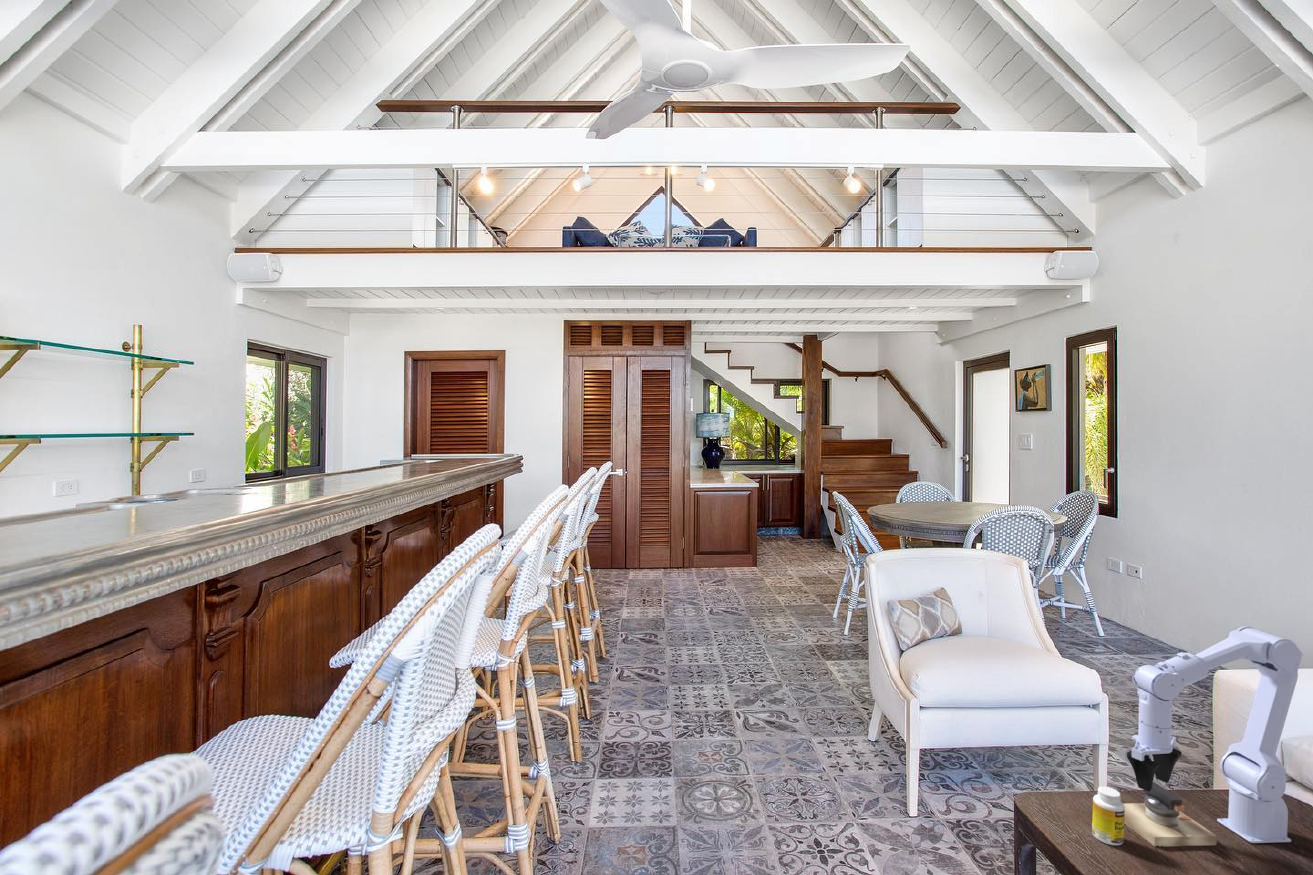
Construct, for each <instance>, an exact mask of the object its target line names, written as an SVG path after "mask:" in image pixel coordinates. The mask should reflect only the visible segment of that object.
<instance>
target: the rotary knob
mask: <svg viewBox="0 0 1313 875" xmlns="http://www.w3.org/2000/svg"><path fill="white" fill-rule="evenodd" d="M1143 792H1144V793H1145V794H1144V803H1145V806H1146V807H1147V808H1148V809H1150V810H1151V811H1153V812H1155V813H1157V814H1160V815H1163V816H1167V817H1177V816H1179V812H1182V813H1184V812H1185V811H1186V810H1185V808H1186V807H1185V806H1184V805H1183V799H1181V798H1180V797H1178V796H1177V795H1175V794H1173V793H1172V792H1170V790H1167V789H1166V788H1164V787H1163V786H1161V785H1159V784H1158V783H1157V782H1155V781H1153V784H1152V788H1151V791H1149V792H1148V791H1146V790H1143Z"/></svg>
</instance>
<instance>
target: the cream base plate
mask: <svg viewBox="0 0 1313 875" xmlns="http://www.w3.org/2000/svg"><path fill="white" fill-rule="evenodd" d="M1123 804H1124V806H1125V816H1124V825H1125V824H1126V826H1127V827H1128V828H1129V829H1131V830H1132V831H1133V830H1134V831H1133V832H1134V833H1136V834H1137V835H1138V836H1140V837H1141V838H1143V839H1144V840H1145V841H1146V840H1147V841H1146V842H1148V843H1149V844H1150V845H1152V846H1153V847H1155V848H1157V847H1156V846H1159V847H1161V846H1163V847H1190V846H1191V847H1195V846H1198V847H1199V846H1217V842H1218V841H1217V840H1218V838H1217V837H1218V836H1217V835H1216V833H1213V832H1212V831H1210V830H1209V829H1208V828H1206V827H1204V826H1203V825H1202V824H1200V823H1199V822H1197V821H1195V820H1194V819H1192V818H1191V817H1189V816H1188V815H1186V814H1185V813H1184V812H1179V816H1177V817H1167V816H1163V815H1160V814H1157V813H1155V812H1153V811H1151V810H1150V809H1148V808H1147V807H1146V806H1145V802H1143V803H1142V802H1139V803H1132V802H1131V803H1123Z"/></svg>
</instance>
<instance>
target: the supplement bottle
mask: <svg viewBox="0 0 1313 875" xmlns="http://www.w3.org/2000/svg"><path fill="white" fill-rule="evenodd" d="M1124 804H1125V803H1123V802H1122V799H1121V792H1119V791H1118V790H1116V789H1114V788H1112V787H1108V786H1098V788H1097V794H1095V795H1094V796H1093V798H1092V821H1091V822H1092V823H1091V832H1092V835H1093V836H1094V838H1096V839H1097V840H1098V841H1100V842H1102V843H1104V844H1107V845H1109V846H1121V845H1123V844H1124V834H1125V824H1124V816H1125V806H1124Z"/></svg>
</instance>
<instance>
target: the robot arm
mask: <svg viewBox="0 0 1313 875" xmlns="http://www.w3.org/2000/svg"><path fill="white" fill-rule="evenodd" d="M1302 657H1303V652H1302V651H1301V650H1300V648H1299V646H1297V644H1296V643H1295V642H1294V640H1293V641H1292V640H1291V639H1288V638H1286V637H1284V638H1283V637H1280V636H1277V635H1274V634H1271V633H1268V632H1266V631H1265V632H1264V631H1262V630H1258V629H1256V628H1254V627H1252V626H1247V625H1245V626H1241V627H1238V628H1237V629H1234V630H1230V632H1229V634H1228V636H1227V638H1225V639H1223V640H1221V641H1219V642H1217V643H1216V644H1214V645H1211V646H1209V647H1208V648H1206V649H1204V650H1202V651H1200V652H1198V653H1196V654H1193V653H1191V652H1182V651H1181V652H1178V653H1176V656H1174V657H1171V658H1169V659H1166V660H1165V661H1164V660H1163V661H1159V662H1157V663H1156V664H1155V665H1151V664H1144V665H1141V666H1139V667H1138V668H1137V669H1136V670H1135V672H1134V675H1132V677H1131V678H1132V682H1133V684H1134V685H1135V687H1136V689H1137V692H1136V694H1137V695H1138V729H1137V730H1138V732H1137V734H1133V735H1132V737H1131V739H1132V740H1133V741H1135V744H1134V747H1132V748H1131V750H1129V751H1127V752H1126V758H1127V760H1128V762H1129V763H1130V765H1131V768H1132V770H1133V772H1134V776H1135V779H1136V784H1137V787H1138V788H1139V789H1142V790H1143V791H1144V790H1146V791H1148V792H1149V791H1151V788H1152V784H1153V782H1154V777H1155V778H1156V779H1157V780H1159V781H1161V782H1164V783H1165V784H1166V783H1169V782H1170V779H1171V776H1172V773H1173V769H1174V767H1175V765H1176V763H1177V762H1178V760H1179V759H1180V758H1181V756H1182V751H1181V750H1179V749H1177V748H1176V747H1177V737H1175V736H1172V729H1173V728H1172V723H1173V722H1172V720H1173V700H1175V699H1176V698H1177V697H1178V696H1179V694H1180V692H1182V690H1184V688H1185V687H1187V686H1189V685H1192V684H1194V683H1196V682H1199V681H1201V680H1204V679H1206V678H1207V677H1208V671H1209V670H1212V669H1215V668H1218V667H1221V666H1224V665H1226V664H1229V663H1233V662H1235V661H1238V660H1242V659H1244V660H1249V661H1250V662H1251V663H1252V664H1253V665H1254V667H1255V668H1256V669H1257V670H1258V672H1259V674H1260V679H1259V682H1258V685H1257V689H1256V692H1255V697H1254V700H1253V702H1252V706H1251V709H1250V713H1249V718H1248V720H1247V724H1246V728H1245V731H1244V734H1243V737H1242V741H1239V742H1234V743H1231V744H1230V745H1229V747H1228V749H1227V751H1226V753H1225V754H1224V755H1223V756H1222V758H1221V759H1220V764H1219V768H1220V771H1221V773H1222V774H1223V776H1225V777H1226V782H1227V783H1228V784H1229V787H1228V789H1229V790H1228V816H1227V818H1226V817H1225V818H1217V819H1216V821H1217V822H1218V823H1220V824H1221V825H1222V826H1224V827H1226V828H1227V829H1229V830H1230V831H1232V832H1233V833H1234V834H1237V835H1238V836H1240V837H1242V838H1243V839H1244V840H1246V841H1247V842H1249V843H1252V844H1265V843H1266V844H1267V843H1273V844H1274V843H1291V842H1292V839H1291V838H1289V837H1288V822H1289V821H1288V820H1289V811H1288V810H1289V809H1288V806H1287V804H1286V801H1285V800H1284V799H1283V798H1282V797H1283V795H1284V794H1285V792H1286V790H1287V788H1286V780H1285V779H1286V777H1285V776H1286V773H1287V769H1286V768H1285V766H1284V765H1283V763H1282V762H1281V761H1280V759H1279V758H1278V757H1277V754H1276V753H1277V750H1278V748H1279V743H1280V740H1281V737H1282V735H1283V734H1282V733H1283V730H1284V726H1285V724H1286V719H1287V716H1288V712H1289V709H1290V705H1291V703H1292V699H1293V695H1294V692H1295V688H1296V685H1297V681H1298V679H1299V678H1298V677H1299V672H1298V671H1299V668H1300V664H1301V662H1302ZM1150 755H1152V758H1151V757H1150Z"/></svg>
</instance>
